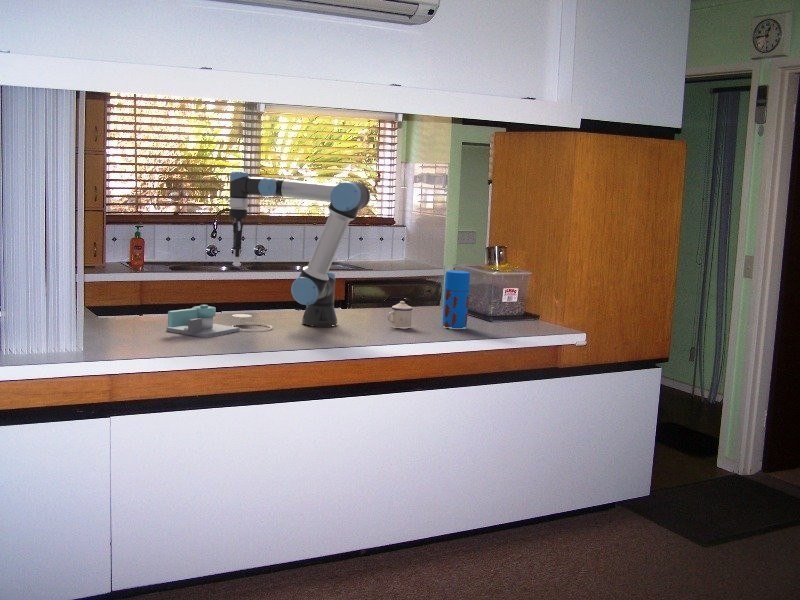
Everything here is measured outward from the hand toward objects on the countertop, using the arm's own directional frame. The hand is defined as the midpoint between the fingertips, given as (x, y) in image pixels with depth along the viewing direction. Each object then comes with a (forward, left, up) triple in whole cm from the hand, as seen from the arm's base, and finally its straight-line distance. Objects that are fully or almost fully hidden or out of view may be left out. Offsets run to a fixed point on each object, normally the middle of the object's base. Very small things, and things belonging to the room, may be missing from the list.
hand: (236, 264), depth 364 cm
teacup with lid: (-59, -38, -25) cm, 74 cm away
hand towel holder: (-14, +8, -25) cm, 30 cm away
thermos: (-77, -57, -25) cm, 99 cm away
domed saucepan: (-6, +34, -21) cm, 41 cm away
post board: (-7, +29, -24) cm, 39 cm away
